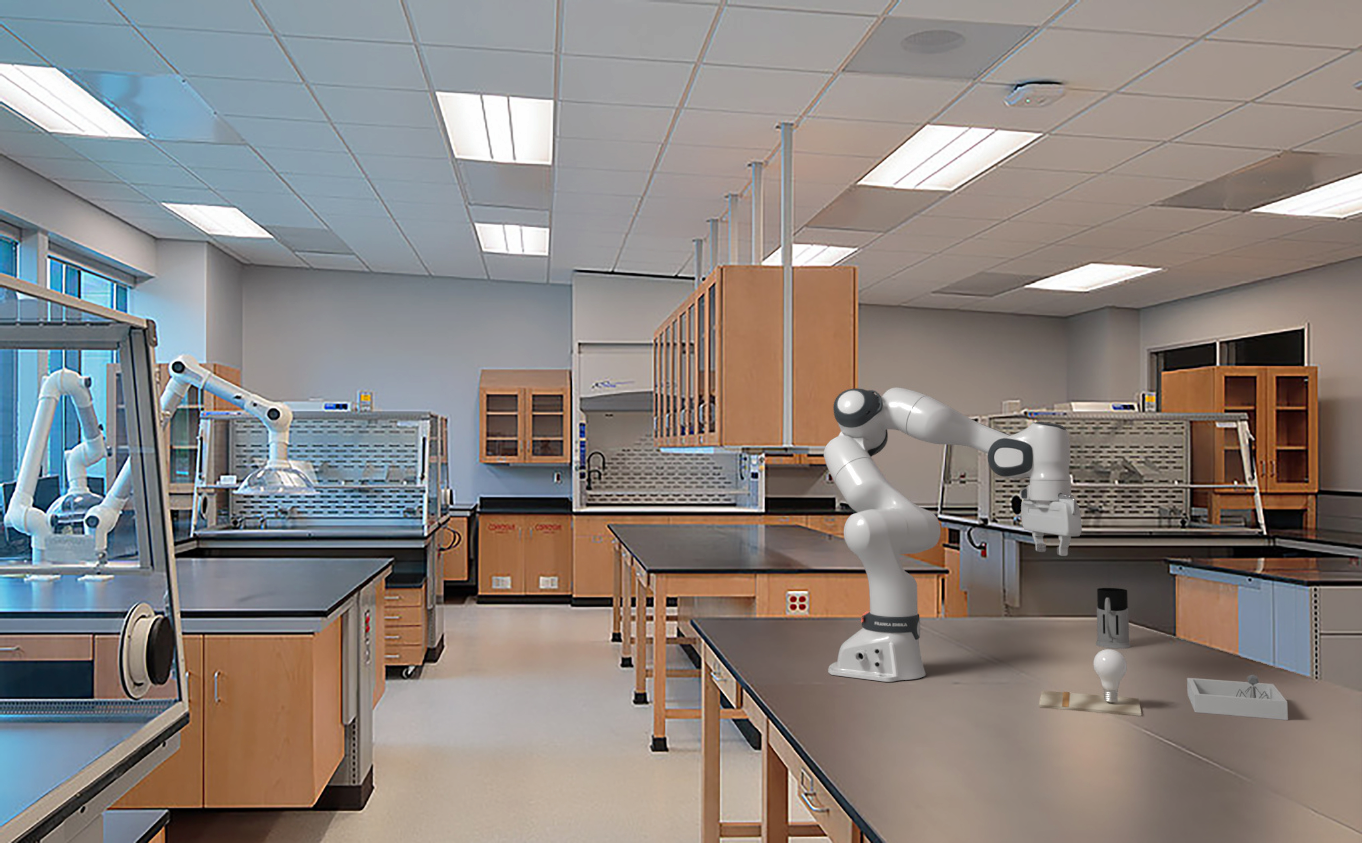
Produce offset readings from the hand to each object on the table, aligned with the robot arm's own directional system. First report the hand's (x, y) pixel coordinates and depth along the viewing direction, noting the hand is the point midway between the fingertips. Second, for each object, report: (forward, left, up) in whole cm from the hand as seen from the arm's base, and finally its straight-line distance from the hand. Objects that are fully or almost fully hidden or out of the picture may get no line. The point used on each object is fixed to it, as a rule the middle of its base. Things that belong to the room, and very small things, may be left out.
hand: (1051, 553), depth 225 cm
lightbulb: (+12, -18, -29) cm, 36 cm away
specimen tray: (+35, -10, -29) cm, 47 cm away
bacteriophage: (+39, -8, -30) cm, 49 cm away
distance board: (+8, -18, -29) cm, 35 cm away
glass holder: (+13, +49, -29) cm, 59 cm away
